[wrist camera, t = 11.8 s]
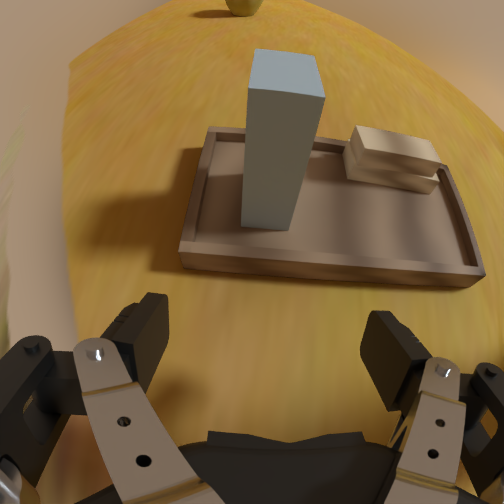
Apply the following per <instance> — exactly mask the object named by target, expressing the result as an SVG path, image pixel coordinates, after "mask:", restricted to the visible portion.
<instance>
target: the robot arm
mask: <svg viewBox="0 0 504 504" xmlns="http://www.w3.org/2000/svg"><path fill="white" fill-rule="evenodd" d="M168 339H169V311H168V297H167V295H166V294H158V293H150V292H148V293H147V294H146V295H145V296H144V298H143V299H142V300H141V301H140V303H132V304H131V305H129V306H127V307H125V308H124V309H123V310H122V311H121V312H120V314H119V316H117V317H116V318H115V319H114V322H112V323H111V324H110V326H109V327H108V328H107V329H106V330H105V332H104V333H103V334H102V335H101V337H100V338H89V339H86V340H83V341H81V342H79V343H78V344H77V345H76V346H75V347H74V350H73V352H69V351H53V349H52V346H51V343H50V341H49V340H48V339H47V338H46V337H43V336H37V335H35V336H28V337H25V338H23V339H21V340H20V341H18V342H17V343H16V344H15V345H14V346H13V347H12V348H11V349H10V350H9V351H8V352H7V353H6V354H5V355H4V356H3V357H2V358H1V360H0V504H41V502H40V497H39V495H38V493H37V491H36V489H35V488H36V485H37V483H38V481H39V479H40V476H41V474H42V472H43V470H44V468H45V466H46V463H47V461H48V459H49V457H50V455H51V453H52V451H53V449H54V447H55V445H56V443H57V441H58V439H59V437H60V435H61V433H62V431H63V429H64V427H65V425H66V423H67V421H68V419H69V417H70V416H71V414H72V415H88V418H89V421H90V424H91V427H92V430H93V433H94V436H95V439H96V442H97V445H98V447H99V450H100V453H101V455H102V458H103V460H104V463H105V465H106V468H107V470H108V472H109V475H110V477H111V479H112V481H113V484H112V485H110V486H108V487H106V488H105V489H103V490H101V491H99V492H97V493H95V494H93V495H91V496H89V497H87V498H85V499H83V500H81V501H79V502H77V503H75V504H504V372H503V371H502V370H501V369H500V368H499V367H497V366H495V365H493V364H490V363H480V364H478V365H477V367H476V369H475V371H474V373H473V374H462V373H460V370H459V368H458V367H457V365H455V364H454V363H453V362H451V361H450V360H448V359H445V358H441V357H432V355H431V354H430V353H429V352H428V351H427V349H426V348H425V347H424V346H423V345H422V343H421V342H419V340H418V339H417V337H415V335H414V334H413V333H412V332H411V330H410V329H409V328H407V327H406V326H404V325H403V324H401V323H400V322H399V321H398V320H397V319H396V318H395V316H394V315H393V314H392V313H391V312H390V311H374V310H373V311H371V313H370V314H369V317H368V321H367V324H366V328H365V331H364V334H363V338H362V341H361V345H360V356H361V359H362V361H363V362H364V364H365V366H366V368H367V370H368V372H369V374H370V376H371V378H372V380H373V382H374V384H375V386H376V388H377V390H378V392H379V394H380V396H381V398H382V401H383V403H384V405H385V407H386V409H387V411H388V412H390V411H397V410H401V414H400V416H399V418H398V420H397V422H396V425H395V427H394V430H393V432H392V434H391V437H390V439H389V441H388V444H387V446H384V445H380V444H377V443H371V442H365V439H364V436H363V434H362V432H352V433H340V434H327V435H323V436H319V437H315V438H311V439H307V440H303V441H298V442H294V443H285V442H280V441H275V440H271V439H266V438H262V437H257V436H253V435H249V434H237V433H225V432H215V431H208V438H207V441H204V442H196V443H190V444H186V445H182V446H180V447H177V446H176V445H175V443H174V442H173V440H172V439H171V437H170V436H169V434H168V432H167V431H166V429H165V428H164V426H163V424H162V423H161V421H160V419H159V418H158V416H157V414H156V413H155V411H154V409H153V408H152V406H151V404H150V402H149V401H148V399H147V397H146V395H145V394H146V391H147V389H148V387H149V385H150V382H151V380H152V378H153V375H154V373H155V371H156V369H157V366H158V364H159V362H160V360H161V357H162V355H163V353H164V351H165V348H166V346H167V344H168ZM31 395H32V397H33V400H32V402H31V403H30V405H29V406H28V408H27V409H26V411H25V412H24V414H23V407H24V405H25V403H26V401H27V400H28V399H29V397H30V396H31ZM488 408H489V410H490V411H491V413H492V414H493V415H494V417H495V418H496V420H497V422H498V429H497V432H496V434H495V435H494V436H493V438H492V439H490V437H489V435H488V434H487V432H486V431H485V429H484V427H483V426H482V424H481V423H480V420H481V419H482V417H483V416H484V414H485V413H486V411H487V410H488ZM460 458H461V461H462V463H463V465H464V467H465V469H466V471H467V473H468V475H469V478H470V480H471V482H472V484H473V486H474V489H475V491H476V493H477V496H478V497H476V496H474V495H472V494H470V493H468V492H466V491H465V490H463V489H461V488H459V487H457V486H455V481H456V476H457V471H458V466H459V461H460Z"/></svg>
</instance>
